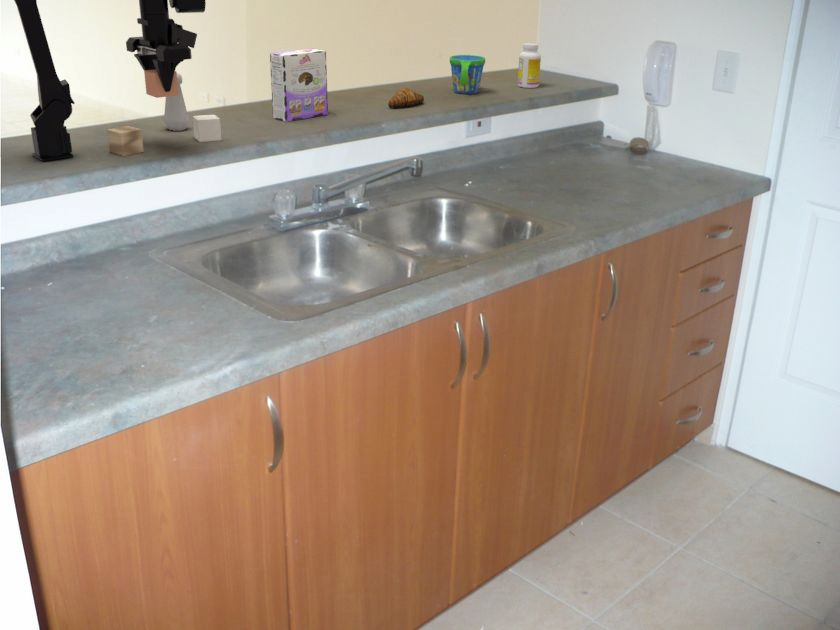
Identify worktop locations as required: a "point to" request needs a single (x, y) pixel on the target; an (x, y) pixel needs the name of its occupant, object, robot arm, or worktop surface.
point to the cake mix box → (299, 84)
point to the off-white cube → (207, 128)
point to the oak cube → (125, 140)
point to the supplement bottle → (529, 66)
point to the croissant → (405, 98)
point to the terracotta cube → (159, 85)
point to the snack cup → (466, 73)
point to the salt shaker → (176, 110)
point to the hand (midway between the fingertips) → (162, 89)
